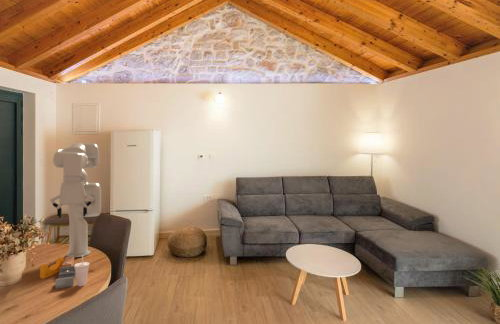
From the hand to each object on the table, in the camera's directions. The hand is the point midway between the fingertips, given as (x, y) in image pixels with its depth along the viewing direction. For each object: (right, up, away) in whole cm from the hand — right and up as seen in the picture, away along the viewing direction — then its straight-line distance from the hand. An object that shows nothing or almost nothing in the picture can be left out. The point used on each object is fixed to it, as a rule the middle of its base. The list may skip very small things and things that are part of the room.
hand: (72, 216), depth 140 cm
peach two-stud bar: (-15, -32, +22) cm, 41 cm away
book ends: (-7, -32, +7) cm, 34 cm away
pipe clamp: (-20, -32, +16) cm, 41 cm away
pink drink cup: (+2, -33, +3) cm, 33 cm away
